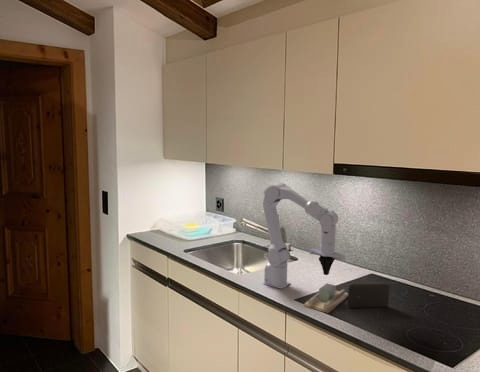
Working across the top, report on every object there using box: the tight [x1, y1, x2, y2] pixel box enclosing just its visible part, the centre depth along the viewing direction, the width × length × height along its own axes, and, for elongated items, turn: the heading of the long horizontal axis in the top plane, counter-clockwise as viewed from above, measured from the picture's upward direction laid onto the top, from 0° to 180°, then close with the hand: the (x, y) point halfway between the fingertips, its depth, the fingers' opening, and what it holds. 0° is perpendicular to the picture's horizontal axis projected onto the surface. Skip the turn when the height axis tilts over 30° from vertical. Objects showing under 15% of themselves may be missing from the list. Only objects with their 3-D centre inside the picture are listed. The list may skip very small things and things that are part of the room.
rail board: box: [303, 288, 348, 314], centre depth 159 cm, size 10×20×2 cm, turn 144°
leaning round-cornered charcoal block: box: [347, 280, 391, 309], centre depth 154 cm, size 16×5×9 cm, turn 96°
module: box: [318, 283, 337, 302], centre depth 159 cm, size 4×7×4 cm, turn 144°
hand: (326, 274), depth 162 cm, fingers closed
